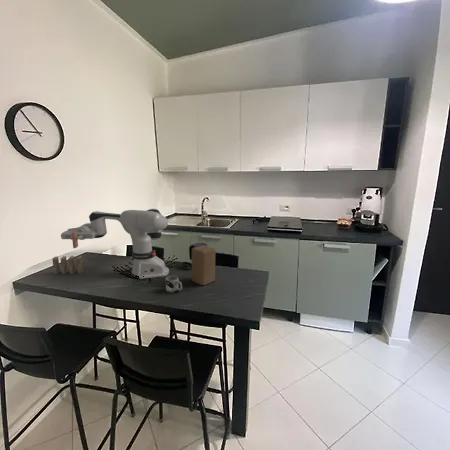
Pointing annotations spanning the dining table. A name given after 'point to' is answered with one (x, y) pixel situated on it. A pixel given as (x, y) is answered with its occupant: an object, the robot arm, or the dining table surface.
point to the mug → (173, 284)
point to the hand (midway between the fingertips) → (74, 238)
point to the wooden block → (203, 265)
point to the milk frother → (191, 254)
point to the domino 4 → (74, 239)
